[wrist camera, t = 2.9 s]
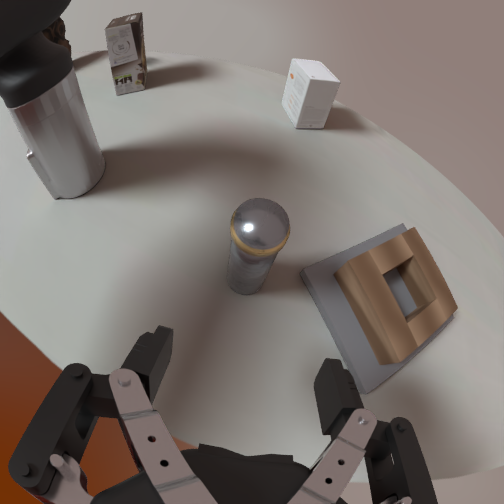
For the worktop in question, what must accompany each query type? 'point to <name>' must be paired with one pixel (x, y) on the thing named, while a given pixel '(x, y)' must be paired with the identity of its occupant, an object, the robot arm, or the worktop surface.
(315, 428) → the worktop surface
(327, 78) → the small box
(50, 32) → the owl
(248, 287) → the gold-rimmed metal cylinder
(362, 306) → the socket block
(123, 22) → the coffee box
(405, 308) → the base
